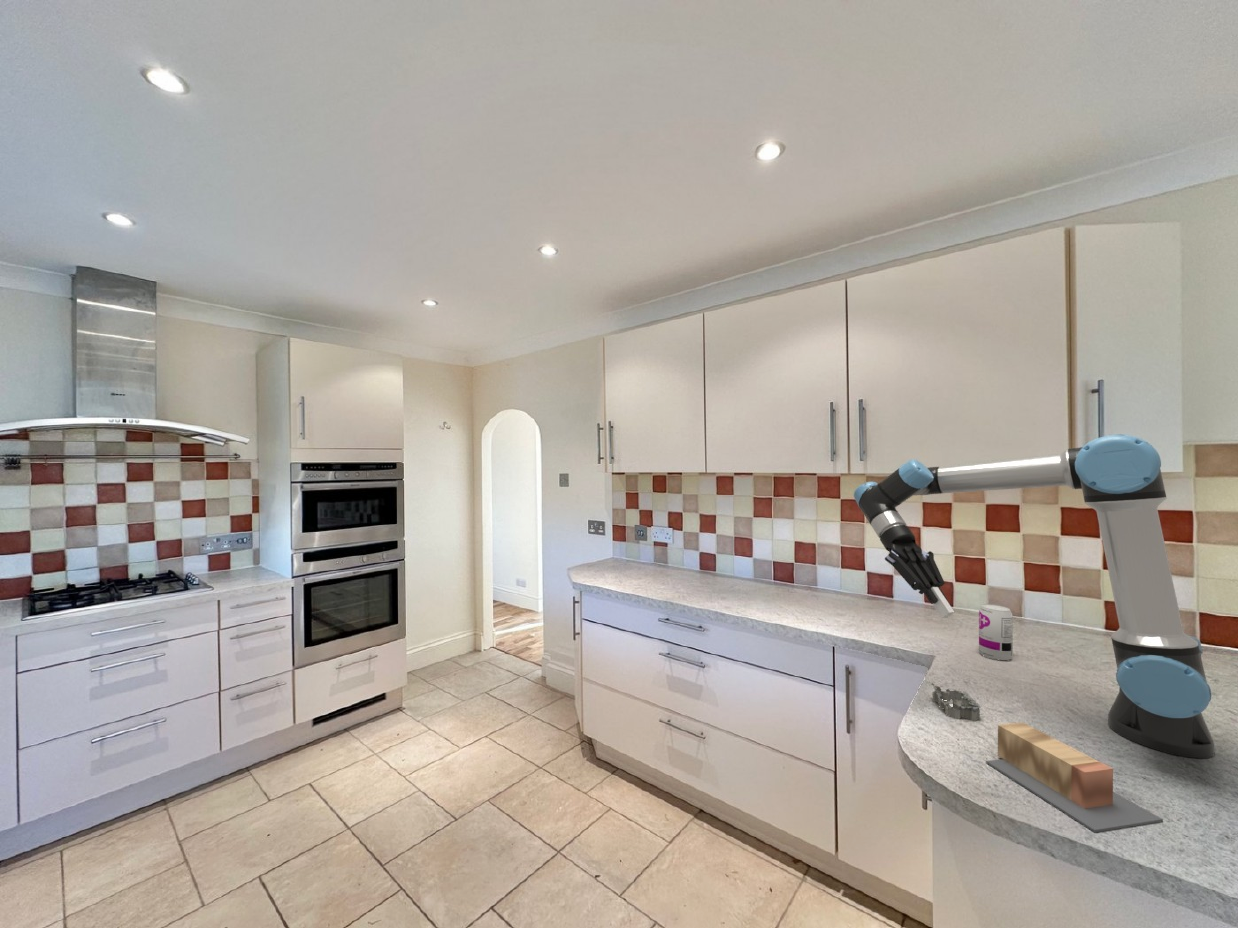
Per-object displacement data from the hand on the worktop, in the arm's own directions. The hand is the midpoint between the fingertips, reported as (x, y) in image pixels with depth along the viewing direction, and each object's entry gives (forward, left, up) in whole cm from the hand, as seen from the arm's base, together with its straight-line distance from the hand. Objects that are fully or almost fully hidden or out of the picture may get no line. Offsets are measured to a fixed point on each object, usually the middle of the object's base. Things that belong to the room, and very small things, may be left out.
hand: (948, 615), depth 110 cm
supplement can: (-8, -56, -24) cm, 61 cm away
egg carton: (-1, -7, -24) cm, 25 cm away
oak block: (-11, +9, -20) cm, 25 cm away
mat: (-19, +16, -23) cm, 34 cm away
